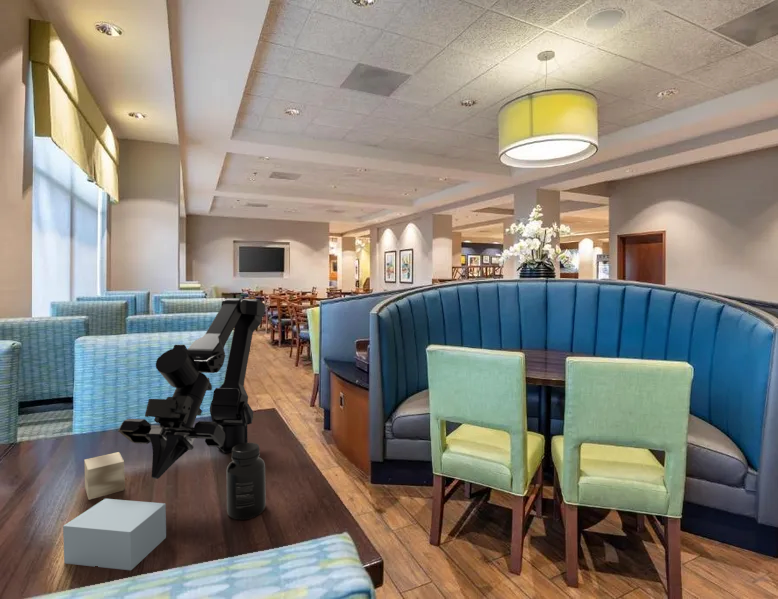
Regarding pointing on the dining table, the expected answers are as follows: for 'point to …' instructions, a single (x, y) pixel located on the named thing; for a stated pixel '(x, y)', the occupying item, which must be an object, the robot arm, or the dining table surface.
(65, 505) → the dining table surface
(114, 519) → the gray block
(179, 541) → the dining table surface
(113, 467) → the birch cube
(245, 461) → the supplement bottle
